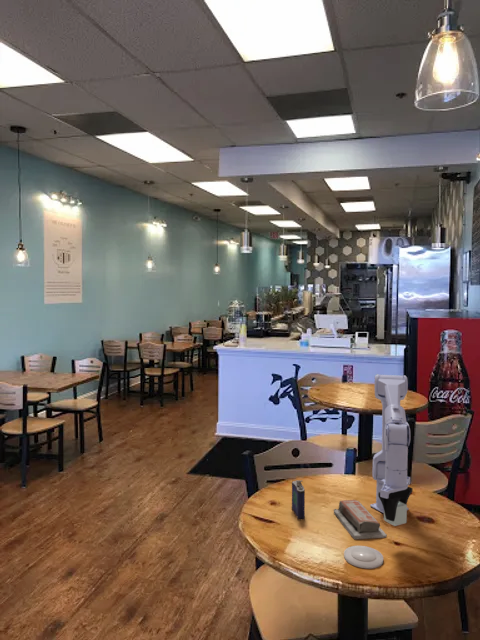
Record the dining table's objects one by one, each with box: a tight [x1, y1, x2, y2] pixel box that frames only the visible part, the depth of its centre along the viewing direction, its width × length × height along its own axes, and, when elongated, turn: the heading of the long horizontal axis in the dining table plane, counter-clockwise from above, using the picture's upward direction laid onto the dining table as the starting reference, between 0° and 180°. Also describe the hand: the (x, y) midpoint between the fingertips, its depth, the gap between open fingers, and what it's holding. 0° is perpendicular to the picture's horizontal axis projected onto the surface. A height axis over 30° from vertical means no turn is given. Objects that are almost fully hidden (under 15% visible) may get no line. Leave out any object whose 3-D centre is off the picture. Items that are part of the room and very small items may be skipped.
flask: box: [291, 479, 306, 521], centre depth 155 cm, size 9×3×11 cm, turn 8°
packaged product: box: [333, 499, 388, 540], centre depth 148 cm, size 18×5×10 cm
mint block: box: [383, 501, 408, 527], centre depth 134 cm, size 4×4×5 cm
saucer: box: [343, 545, 384, 570], centre depth 128 cm, size 10×10×1 cm
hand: (395, 516), depth 134 cm, fingers closed on mint block, 5 cm apart
